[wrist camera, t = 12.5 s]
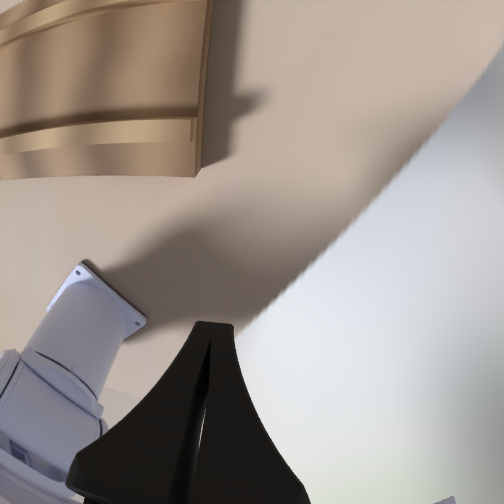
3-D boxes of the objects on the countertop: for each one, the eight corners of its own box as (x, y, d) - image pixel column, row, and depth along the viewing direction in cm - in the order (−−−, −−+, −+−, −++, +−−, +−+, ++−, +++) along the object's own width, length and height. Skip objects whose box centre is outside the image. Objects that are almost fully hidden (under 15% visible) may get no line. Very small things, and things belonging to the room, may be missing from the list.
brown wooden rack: (218, -35, 11) (210, -58, 8) (201, 168, 18) (189, 185, 15) (-30, 43, 10) (-55, 46, 7) (-27, 177, 17) (-51, 191, 14)
